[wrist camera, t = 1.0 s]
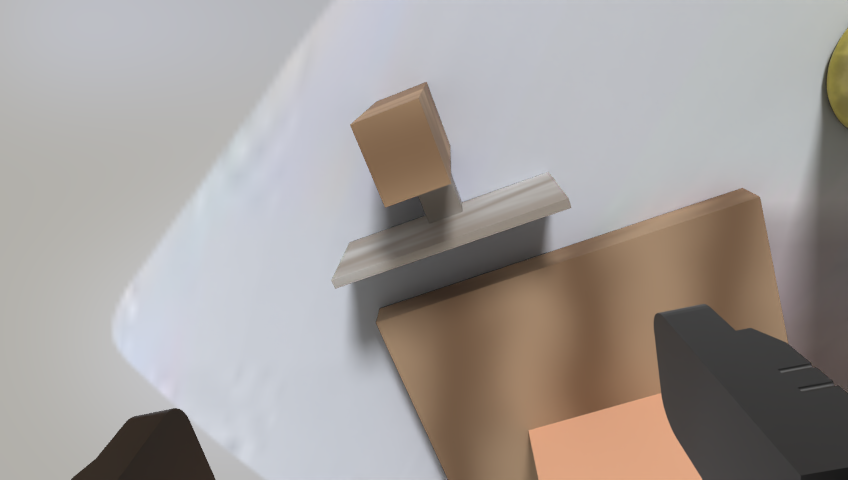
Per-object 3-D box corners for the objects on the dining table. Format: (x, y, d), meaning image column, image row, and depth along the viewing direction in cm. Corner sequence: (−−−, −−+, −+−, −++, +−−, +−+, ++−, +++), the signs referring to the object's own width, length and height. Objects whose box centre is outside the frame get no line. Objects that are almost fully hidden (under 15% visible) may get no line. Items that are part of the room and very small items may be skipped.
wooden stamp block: (299, 132, 25) (247, 165, 19) (509, 49, 24) (533, 52, 17) (352, 249, 27) (322, 317, 21) (551, 179, 26) (586, 228, 19)
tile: (685, 386, 27) (760, 496, 21) (690, 405, 28) (766, 520, 21) (528, 430, 29) (552, 547, 22) (535, 448, 29) (561, 569, 22)
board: (742, 188, 25) (759, 196, 24) (802, 483, 31) (819, 505, 29) (379, 308, 28) (375, 323, 27) (493, 559, 34) (495, 582, 32)
